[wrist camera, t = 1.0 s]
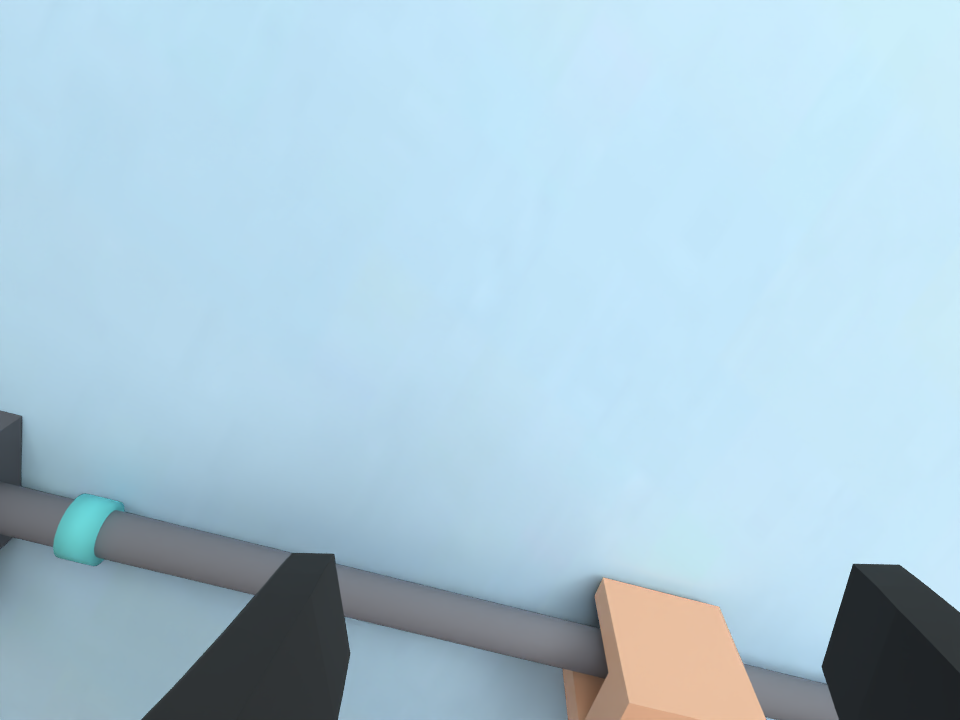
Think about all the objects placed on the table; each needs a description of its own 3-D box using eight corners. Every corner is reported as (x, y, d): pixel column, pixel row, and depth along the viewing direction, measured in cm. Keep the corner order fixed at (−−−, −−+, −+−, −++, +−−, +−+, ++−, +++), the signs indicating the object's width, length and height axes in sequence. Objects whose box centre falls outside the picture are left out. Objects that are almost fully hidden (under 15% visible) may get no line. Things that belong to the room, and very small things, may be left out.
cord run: (1011, 635, 22) (1114, 746, 18) (901, 769, 25) (971, 889, 21) (-102, 346, 19) (-247, 410, 15) (-89, 535, 22) (-210, 628, 18)
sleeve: (718, 606, 21) (773, 736, 17) (670, 691, 23) (709, 829, 19) (603, 577, 21) (629, 702, 17) (562, 665, 23) (576, 800, 18)
